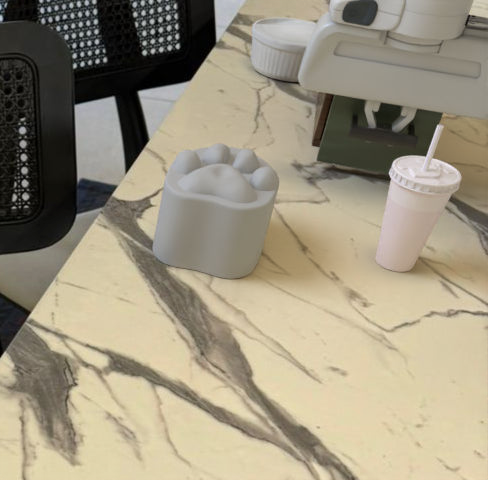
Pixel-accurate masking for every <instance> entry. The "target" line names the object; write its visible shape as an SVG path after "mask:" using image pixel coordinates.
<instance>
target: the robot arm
mask: <svg viewBox="0 0 488 480" xmlns="http://www.w3.org/2000/svg"><path fill="white" fill-rule="evenodd" d="M474 1H475V0H329V6H328V10H327V11H326V12H324V13H323V14H322V15H321V16H320V17H319V19H318V20H317V21H316V26H315V28H314V30H313V32H312V35H311V37H310V39H309V42H308V44H307V47H306V50H305V53H304V56H303V59H302V62H301V66H300V69H299V73H298V81H299V82H298V83H299V85H300V87H301V88H302V89H303V90H306V91H311V92H317V93H319V92H323V93H329V94H335V95H341V96H347V97H352V98H358V99H364V100H365V109H364V110H365V114H366V117H367V121H368V125H369V126H368V127H369V128H375V129H380V130H386V131H392V132H399V131H401V130H402V129H403V128H404V127H405V126H406V125H407V124H408V123H409V122H410V121H412V120H413V119H414V116H415V113H416V110H417V109H423V110H429V111H434V112H440V113H443V114H445V115H446V114H447V115H452V116H458V117H464V118H470V119H476V120H477V119H478V120H480V121H481V120H482V121H485V120H487V119H488V17H486V16H480V15H475V14H470V12H471V10H472V6H473V3H474ZM381 102H382V103H387V104H393V105H399V106H401V115H400V116H399V117H398V118H397V119H396V120H395V121H394V122H393V123H392V124H386V123H380V122H376V118H375V114H374V111H375V112H377V111H378V110H379V107H380V104H381ZM365 142H366V141H365ZM369 143H370V142H369ZM371 143H372V142H371ZM377 144H378V143H377ZM381 145H384V144H381ZM387 146H390V145H387Z"/></svg>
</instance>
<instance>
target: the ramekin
mask: <svg viewBox="0 0 488 480" xmlns="http://www.w3.org/2000/svg"><path fill="white" fill-rule="evenodd" d="M316 24H317V22H312V21H309V20H304V19H300V18H294V17H293V18H292V17H280V16H279V17H278V16H277V17H265V18H261V19H260V18H259V19H257V20H256V21H255V22H254V23H253V24H252V28H251V35H252V37H251V49H250V62H251V65H252V67H253V70H255V71H256V72H257V73H259V74H260V75H262V76H265V77H268V78H271V79H274V80H278V81H283V82H290V83H299V81H298V73H299V69H300V66H301V62H302V59H303V56H304V53H305V50H306V47H307V44H308V42H309V39H310V37H311V35H312V32H313V30H314V28H315V26H316Z"/></svg>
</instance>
